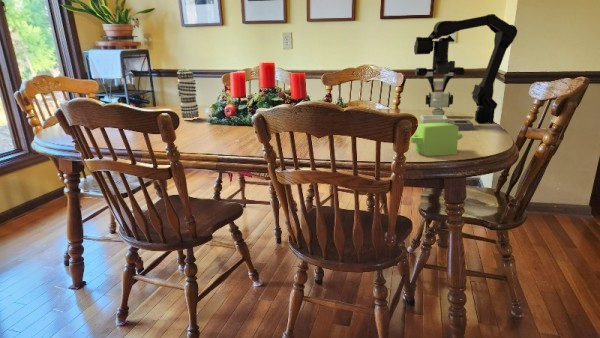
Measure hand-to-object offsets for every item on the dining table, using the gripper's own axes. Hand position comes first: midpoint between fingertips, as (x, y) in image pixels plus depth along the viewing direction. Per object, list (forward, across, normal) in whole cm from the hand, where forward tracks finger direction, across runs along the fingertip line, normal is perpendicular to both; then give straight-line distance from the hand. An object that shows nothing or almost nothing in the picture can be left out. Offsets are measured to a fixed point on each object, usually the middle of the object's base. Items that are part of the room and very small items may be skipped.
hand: (437, 92), depth 171 cm
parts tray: (+13, -1, +2) cm, 13 cm away
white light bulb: (+4, 0, 0) cm, 4 cm away
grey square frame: (+13, +8, -9) cm, 18 cm away
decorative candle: (+15, -118, +21) cm, 121 cm away
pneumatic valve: (+13, +4, +15) cm, 21 cm away
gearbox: (+14, -8, -43) cm, 46 cm away
